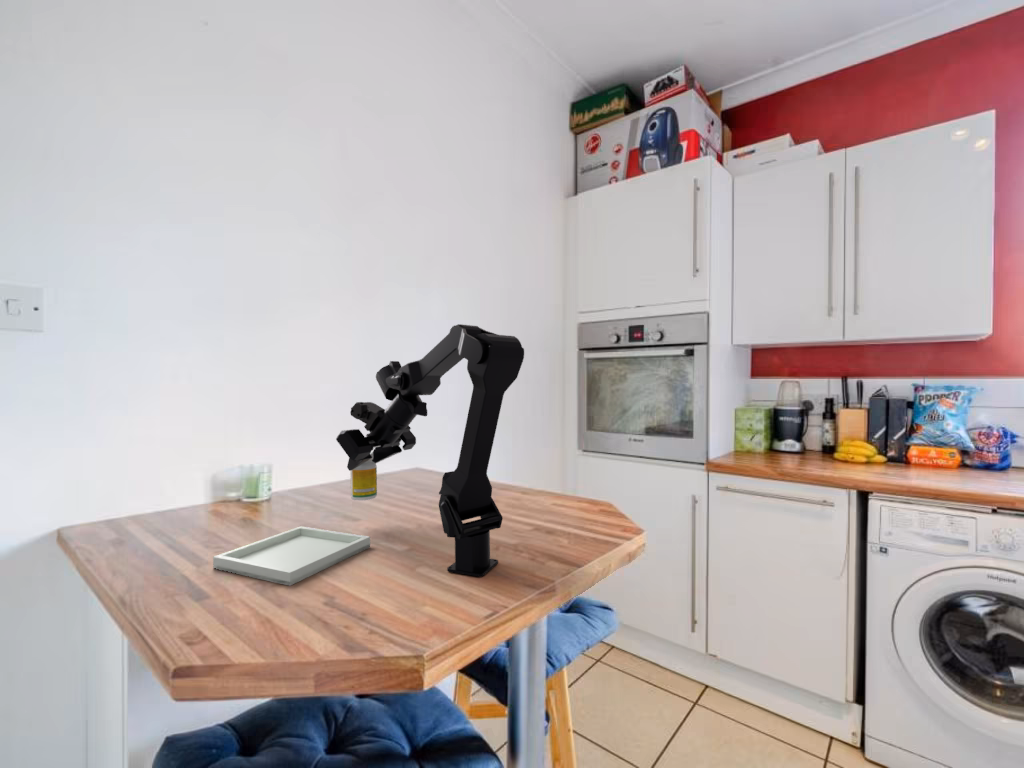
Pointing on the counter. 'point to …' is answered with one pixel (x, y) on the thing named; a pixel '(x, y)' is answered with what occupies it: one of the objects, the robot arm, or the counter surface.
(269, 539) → the tray
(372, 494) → the supplement bottle
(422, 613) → the counter surface
